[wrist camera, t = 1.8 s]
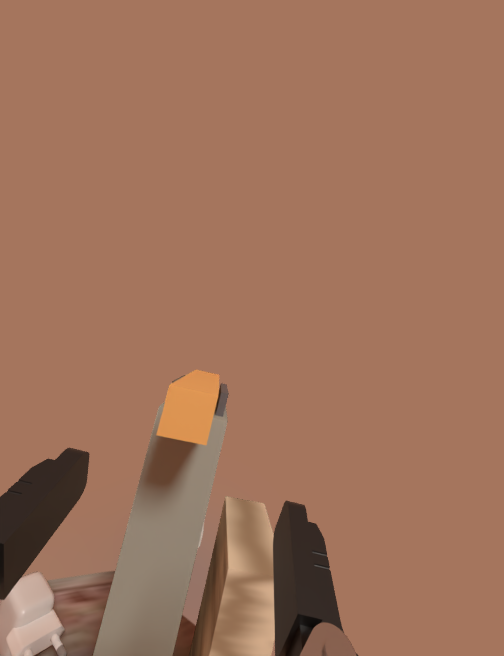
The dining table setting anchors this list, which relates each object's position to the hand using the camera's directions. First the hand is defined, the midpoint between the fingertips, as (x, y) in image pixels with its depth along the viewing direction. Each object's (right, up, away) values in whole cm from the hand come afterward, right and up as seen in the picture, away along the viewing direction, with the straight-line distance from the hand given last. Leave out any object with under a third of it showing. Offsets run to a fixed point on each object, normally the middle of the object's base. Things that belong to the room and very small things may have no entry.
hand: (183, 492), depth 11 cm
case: (-11, -34, +20) cm, 41 cm away
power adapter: (-23, -31, +21) cm, 44 cm away
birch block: (-2, -35, +15) cm, 39 cm away
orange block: (-3, -2, +19) cm, 20 cm away
